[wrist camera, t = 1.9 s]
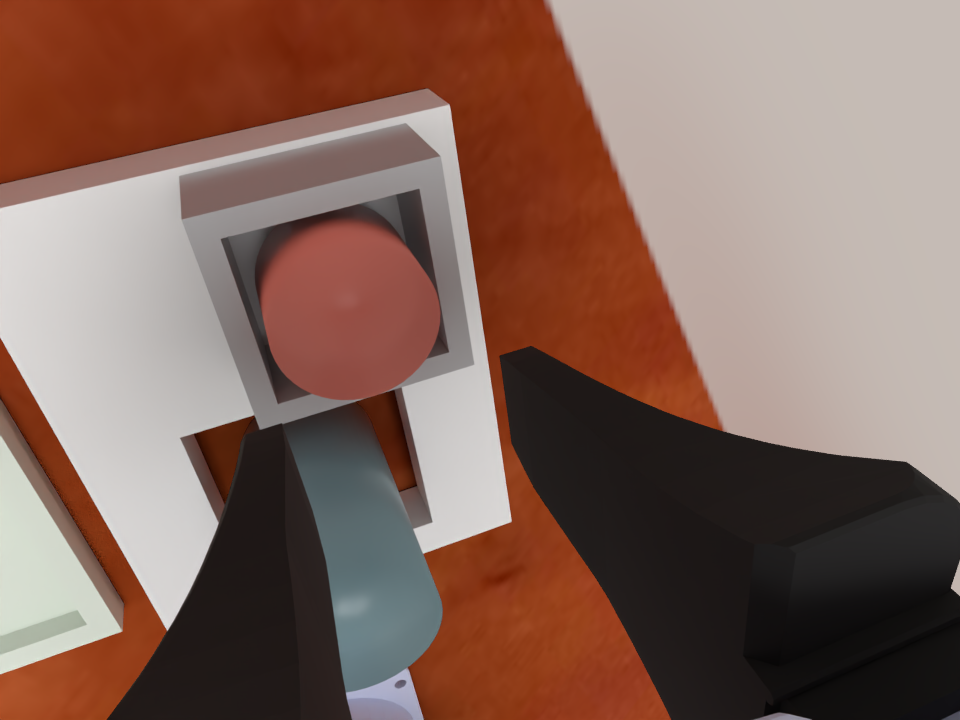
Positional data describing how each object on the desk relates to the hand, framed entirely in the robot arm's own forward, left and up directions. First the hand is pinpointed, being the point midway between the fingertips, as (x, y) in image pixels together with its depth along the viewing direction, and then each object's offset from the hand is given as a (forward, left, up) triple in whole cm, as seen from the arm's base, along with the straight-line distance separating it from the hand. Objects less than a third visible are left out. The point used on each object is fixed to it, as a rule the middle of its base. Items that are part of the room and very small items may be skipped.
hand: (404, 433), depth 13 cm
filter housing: (-5, +2, -10) cm, 12 cm away
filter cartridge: (-8, +2, -10) cm, 13 cm away
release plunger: (0, 0, -7) cm, 7 cm away
